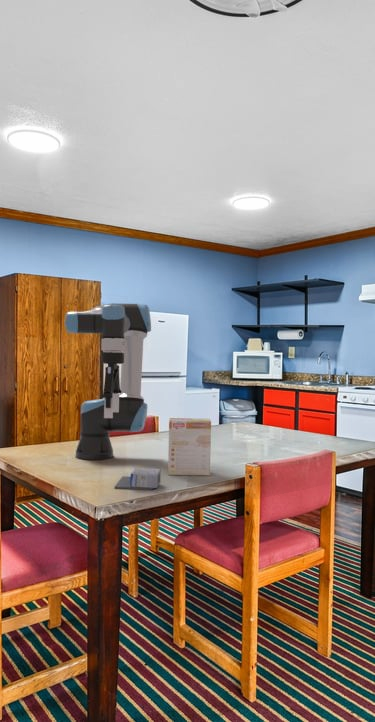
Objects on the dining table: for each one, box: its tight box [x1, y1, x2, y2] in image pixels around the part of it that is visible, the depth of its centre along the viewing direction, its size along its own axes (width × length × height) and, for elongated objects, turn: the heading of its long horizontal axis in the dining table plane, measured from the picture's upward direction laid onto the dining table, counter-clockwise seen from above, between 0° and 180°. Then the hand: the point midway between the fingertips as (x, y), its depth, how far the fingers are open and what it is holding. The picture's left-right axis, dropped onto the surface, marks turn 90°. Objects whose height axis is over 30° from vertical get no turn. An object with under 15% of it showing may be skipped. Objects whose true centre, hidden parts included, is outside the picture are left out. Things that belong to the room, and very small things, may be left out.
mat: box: [114, 475, 154, 491], centre depth 172 cm, size 14×12×1 cm
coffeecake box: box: [167, 417, 212, 476], centre depth 189 cm, size 15×7×20 cm, turn 92°
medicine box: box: [129, 467, 162, 489], centre depth 169 cm, size 8×4×9 cm
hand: (111, 415), depth 177 cm, fingers open, 13 cm apart
